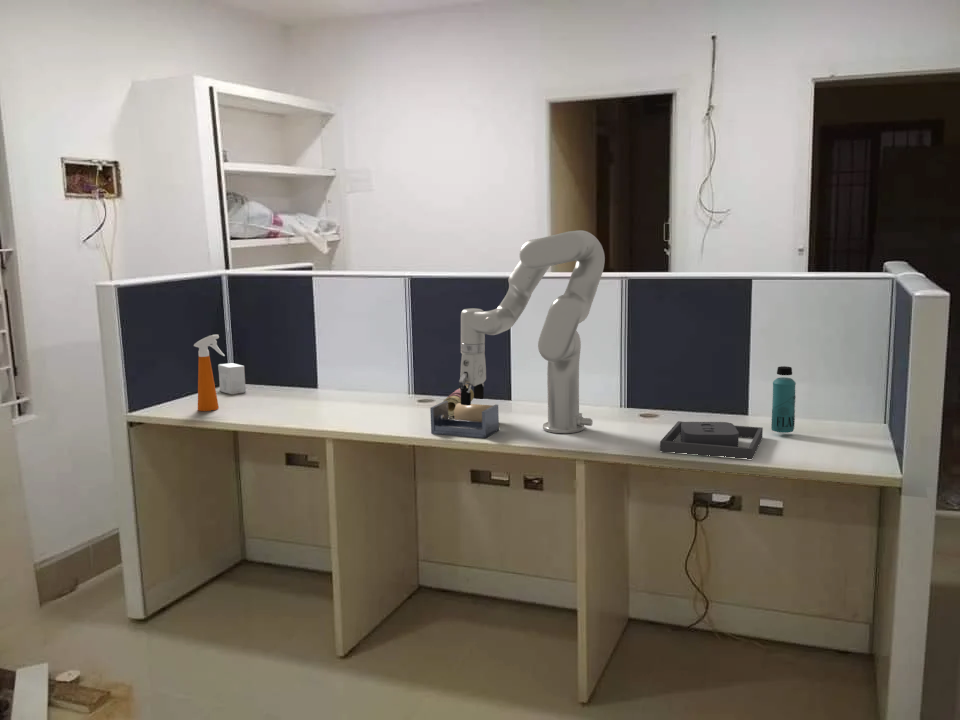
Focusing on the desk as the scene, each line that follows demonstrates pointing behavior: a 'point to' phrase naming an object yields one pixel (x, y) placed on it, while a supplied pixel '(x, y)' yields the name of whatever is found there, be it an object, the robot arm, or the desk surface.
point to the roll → (469, 411)
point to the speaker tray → (713, 450)
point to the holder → (464, 423)
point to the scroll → (455, 400)
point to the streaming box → (710, 433)
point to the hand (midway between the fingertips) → (472, 401)
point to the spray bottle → (206, 374)
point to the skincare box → (231, 378)
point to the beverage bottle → (783, 402)
